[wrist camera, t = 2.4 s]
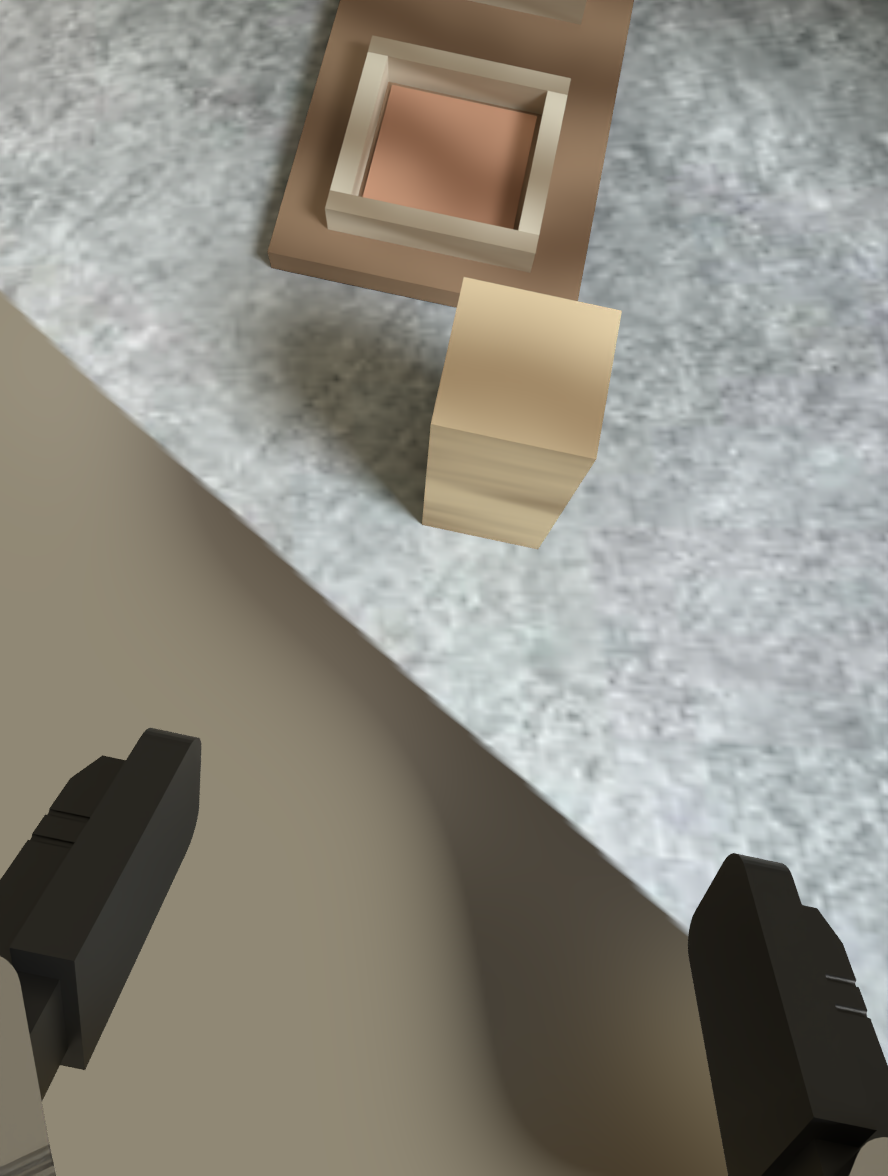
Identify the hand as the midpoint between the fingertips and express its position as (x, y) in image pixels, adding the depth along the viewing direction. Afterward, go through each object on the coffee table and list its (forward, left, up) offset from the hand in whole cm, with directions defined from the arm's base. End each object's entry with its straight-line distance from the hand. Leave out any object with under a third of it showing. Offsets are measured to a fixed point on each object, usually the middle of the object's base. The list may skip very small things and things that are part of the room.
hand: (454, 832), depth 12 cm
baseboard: (-15, -26, -16) cm, 34 cm away
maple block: (-7, -9, -16) cm, 20 cm away
